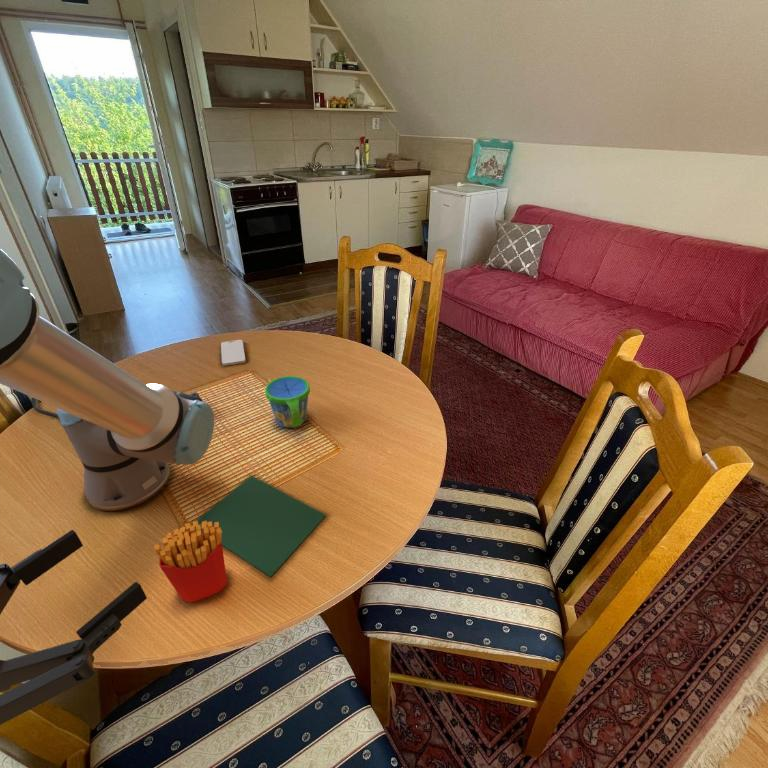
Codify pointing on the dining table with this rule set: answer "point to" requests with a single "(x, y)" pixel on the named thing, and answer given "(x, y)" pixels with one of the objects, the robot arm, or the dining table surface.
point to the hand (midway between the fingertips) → (108, 561)
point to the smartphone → (232, 352)
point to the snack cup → (288, 400)
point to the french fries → (194, 560)
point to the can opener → (189, 396)
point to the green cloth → (262, 524)
